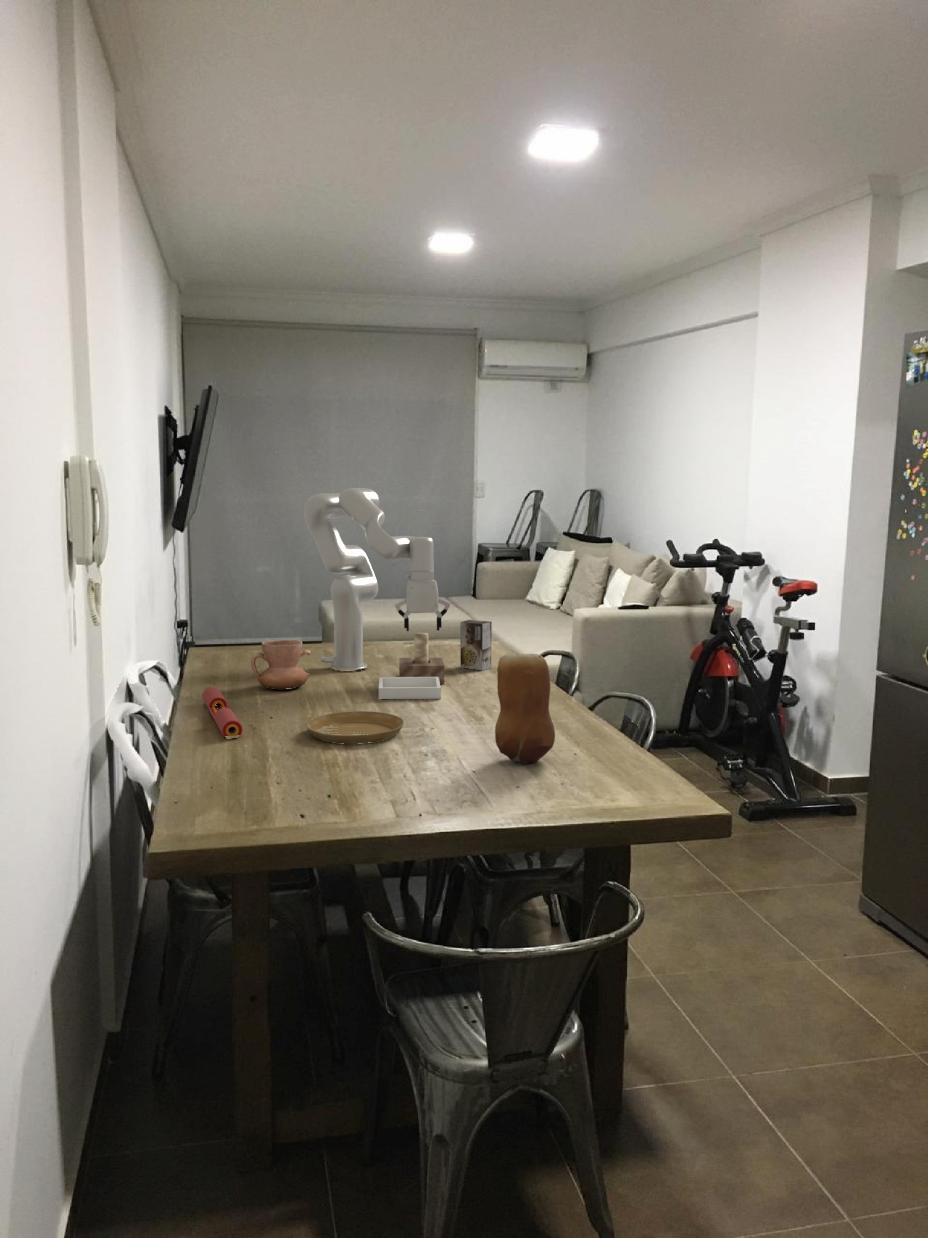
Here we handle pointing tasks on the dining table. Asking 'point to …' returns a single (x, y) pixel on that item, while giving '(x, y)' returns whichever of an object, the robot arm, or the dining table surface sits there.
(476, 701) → the dining table surface
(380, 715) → the plant saucer
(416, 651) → the dowel
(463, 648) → the coffee box
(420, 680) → the tray
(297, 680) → the ceramic jug
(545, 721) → the butternut squash
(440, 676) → the socket block
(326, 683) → the dining table surface
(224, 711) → the blood vessel
